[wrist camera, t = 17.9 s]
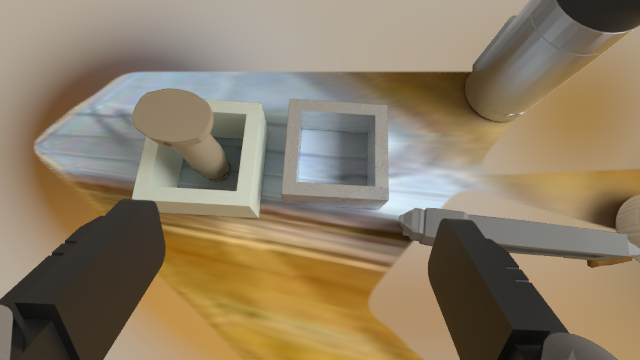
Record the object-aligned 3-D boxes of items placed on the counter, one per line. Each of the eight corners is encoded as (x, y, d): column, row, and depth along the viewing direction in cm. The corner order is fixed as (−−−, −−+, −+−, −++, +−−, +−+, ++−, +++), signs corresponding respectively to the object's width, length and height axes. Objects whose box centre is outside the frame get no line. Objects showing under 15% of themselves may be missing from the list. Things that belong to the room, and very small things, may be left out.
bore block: (291, 118, 44) (289, 98, 40) (378, 123, 45) (387, 105, 40) (284, 203, 41) (281, 193, 36) (379, 209, 41) (388, 200, 36)
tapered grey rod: (410, 230, 49) (398, 204, 36) (615, 249, 40) (701, 224, 27) (408, 251, 48) (396, 232, 35) (619, 275, 39) (709, 263, 26)
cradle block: (178, 124, 43) (155, 96, 37) (268, 130, 44) (261, 103, 37) (160, 212, 40) (131, 199, 33) (258, 218, 40) (249, 206, 33)
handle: (238, 193, 41) (201, 146, 27) (188, 184, 41) (125, 134, 27) (246, 157, 42) (216, 96, 28) (198, 149, 42) (143, 84, 28)
